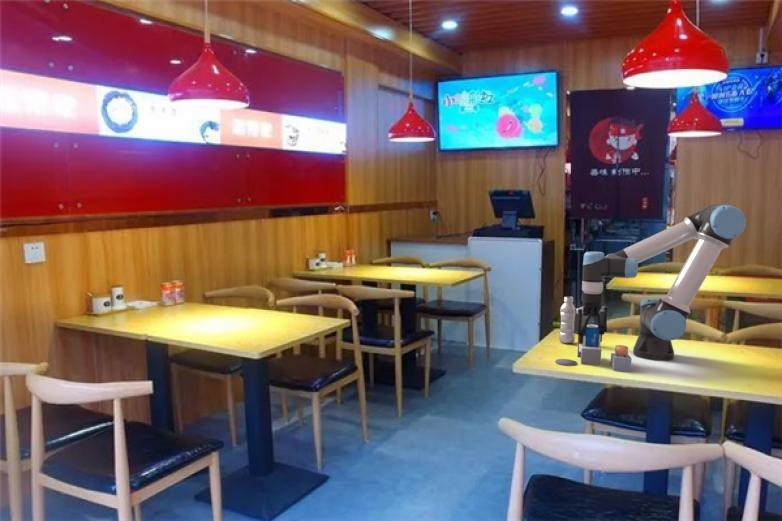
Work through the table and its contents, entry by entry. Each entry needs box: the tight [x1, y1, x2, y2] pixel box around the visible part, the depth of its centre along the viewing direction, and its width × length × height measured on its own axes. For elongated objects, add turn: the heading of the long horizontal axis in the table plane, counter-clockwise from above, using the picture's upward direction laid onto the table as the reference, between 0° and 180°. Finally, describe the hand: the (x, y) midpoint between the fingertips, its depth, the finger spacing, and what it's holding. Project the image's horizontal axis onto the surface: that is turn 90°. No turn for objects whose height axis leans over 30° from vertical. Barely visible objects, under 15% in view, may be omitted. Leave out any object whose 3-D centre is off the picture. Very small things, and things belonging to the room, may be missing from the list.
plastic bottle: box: [558, 296, 576, 344], centre depth 263 cm, size 6×7×20 cm
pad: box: [554, 358, 578, 367], centre depth 233 cm, size 8×8×1 cm
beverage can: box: [584, 323, 599, 347], centre depth 236 cm, size 6×6×12 cm
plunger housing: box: [610, 352, 632, 373], centre depth 226 cm, size 6×6×5 cm
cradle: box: [576, 342, 602, 366], centre depth 236 cm, size 7×11×6 cm, turn 171°
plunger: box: [614, 344, 629, 357], centre depth 226 cm, size 4×4×7 cm
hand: (589, 351), depth 236 cm, fingers closed on beverage can, 6 cm apart
